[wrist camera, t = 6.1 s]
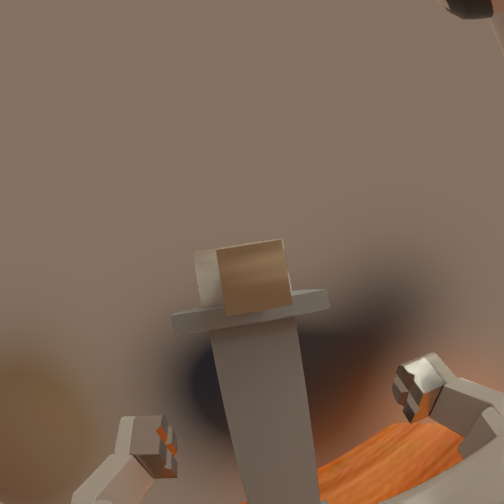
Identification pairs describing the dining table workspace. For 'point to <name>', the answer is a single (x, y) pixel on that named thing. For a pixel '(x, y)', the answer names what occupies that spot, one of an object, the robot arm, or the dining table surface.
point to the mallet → (244, 277)
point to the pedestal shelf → (264, 395)
